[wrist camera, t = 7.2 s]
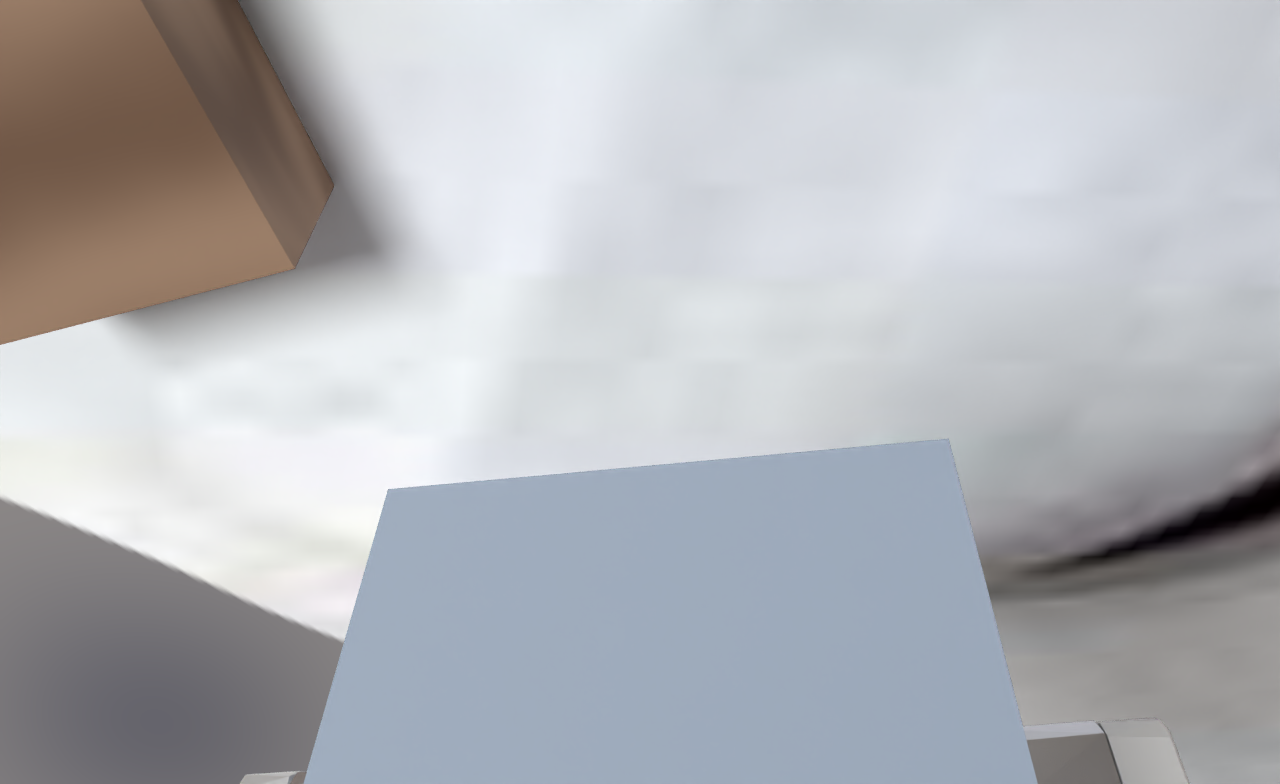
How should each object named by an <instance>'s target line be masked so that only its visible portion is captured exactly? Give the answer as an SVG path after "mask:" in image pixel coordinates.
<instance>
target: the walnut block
mask: <svg viewBox="0 0 1280 784" xmlns="http://www.w3.org/2000/svg"><path fill="white" fill-rule="evenodd" d="M333 187H334V184H333V182H332V180H331V178H330V176H329V174H328V172H327V170H326V169H325V167H324V165H323V163H322V161H321V159H320V157H319V155H318V153H317V151H316V149H315V148H314V146H313V144H312V142H311V140H310V138H309V136H308V134H307V132H306V130H305V128H304V126H303V125H302V123H301V121H300V119H299V117H298V115H297V113H296V111H295V109H294V107H293V105H292V104H291V102H290V100H289V98H288V96H287V94H286V92H285V90H284V88H283V86H282V84H281V82H280V81H279V79H278V77H277V75H276V73H275V71H274V69H273V67H272V65H271V63H270V61H269V59H268V58H267V56H266V54H265V52H264V50H263V48H262V46H261V44H260V42H259V40H258V38H257V37H256V35H255V33H254V31H253V29H252V27H251V25H250V23H249V21H248V19H247V17H246V15H245V14H244V12H243V10H242V8H241V6H240V4H239V2H238V0H0V345H1V344H5V343H9V342H13V341H17V340H21V339H25V338H28V337H32V336H36V335H40V334H44V333H48V332H52V331H56V330H59V329H63V328H67V327H71V326H75V325H79V324H83V323H87V322H90V321H94V320H98V319H102V318H106V317H110V316H114V315H118V314H121V313H125V312H129V311H133V310H137V309H141V308H145V307H149V306H152V305H156V304H160V303H164V302H168V301H172V300H176V299H180V298H183V297H187V296H191V295H195V294H199V293H203V292H207V291H211V290H214V289H218V288H222V287H226V286H230V285H234V284H238V283H241V282H245V281H249V280H253V279H257V278H261V277H265V276H269V275H272V274H276V273H280V272H284V271H288V270H292V269H295V267H296V265H297V263H298V261H299V259H300V257H301V255H302V253H303V250H304V248H305V246H306V244H307V242H308V240H309V238H310V236H311V234H312V232H313V229H314V227H315V225H316V223H317V221H318V219H319V217H320V215H321V213H322V211H323V208H324V206H325V204H326V202H327V200H328V198H329V196H330V194H331V192H332V190H333Z"/></svg>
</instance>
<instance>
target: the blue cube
mask: <svg viewBox="0 0 1280 784" xmlns="http://www.w3.org/2000/svg"><path fill="white" fill-rule="evenodd" d="M304 784H1038V783H1037V779H1036V775H1035V771H1034V767H1033V763H1032V759H1031V756H1030V752H1029V748H1028V744H1027V740H1026V736H1025V732H1024V729H1023V725H1022V721H1021V717H1020V713H1019V709H1018V705H1017V701H1016V698H1015V694H1014V690H1013V686H1012V682H1011V678H1010V674H1009V671H1008V667H1007V663H1006V659H1005V655H1004V651H1003V647H1002V644H1001V640H1000V636H999V632H998V628H997V624H996V620H995V616H994V613H993V609H992V605H991V601H990V597H989V593H988V589H987V586H986V582H985V578H984V574H983V570H982V566H981V562H980V559H979V555H978V551H977V547H976V543H975V539H974V535H973V531H972V528H971V524H970V520H969V516H968V512H967V508H966V504H965V501H964V497H963V493H962V489H961V485H960V481H959V477H958V474H957V470H956V466H955V462H954V458H953V454H952V450H951V446H950V443H949V439H941V440H929V441H918V442H907V443H896V444H885V445H874V446H863V447H852V448H841V449H830V450H819V451H808V452H796V453H785V454H774V455H763V456H752V457H741V458H730V459H719V460H708V461H697V462H686V463H675V464H663V465H652V466H641V467H630V468H619V469H608V470H597V471H586V472H575V473H564V474H553V475H542V476H530V477H519V478H508V479H497V480H486V481H475V482H464V483H453V484H442V485H431V486H420V487H408V488H397V489H388V492H387V495H386V499H385V502H384V506H383V509H382V513H381V516H380V520H379V523H378V526H377V530H376V533H375V537H374V540H373V544H372V547H371V551H370V554H369V558H368V561H367V565H366V568H365V572H364V575H363V579H362V582H361V586H360V589H359V592H358V596H357V599H356V603H355V606H354V610H353V613H352V617H351V620H350V624H349V627H348V631H347V634H346V638H345V641H344V645H343V648H342V652H341V655H340V658H339V662H338V665H337V669H336V672H335V676H334V679H333V683H332V686H331V690H330V693H329V697H328V700H327V704H326V707H325V711H324V714H323V718H322V721H321V724H320V728H319V732H318V735H317V738H316V742H315V745H314V749H313V752H312V756H311V759H310V763H309V767H308V770H307V773H306V777H305V780H304Z"/></svg>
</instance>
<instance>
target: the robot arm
mask: <svg viewBox="0 0 1280 784" xmlns="http://www.w3.org/2000/svg"><path fill="white" fill-rule="evenodd" d="M1023 729H1024V732H1025V736H1026V740H1027V744H1028V748H1029V752H1030V756H1031V759H1032V763H1033V767H1034V771H1035V775H1036V779H1037V783H1038V784H1190V782H1189V780H1188V777H1187V774H1186V772H1185V769H1184V767H1183V764H1182V761H1181V759H1180V756H1179V753H1178V751H1177V748H1176V746H1175V743H1174V740H1173V738H1172V735H1171V732H1170V731H1169V729H1168V728H1167V727H1166V726H1165V725H1164V724H1163V722H1162V721H1161V720H1159V719H1157V718H1141V719H1128V720H1115V721H1102V722H1095V721H1094V720H1093V721H1081V722H1068V723H1055V724H1043V725H1030V726H1023ZM306 773H307V772H305V771H292V772H278V773H263V774H250V775H245V777H244V778H243V779H242V781H241V782H240V784H304V780H305V777H306Z"/></svg>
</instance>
